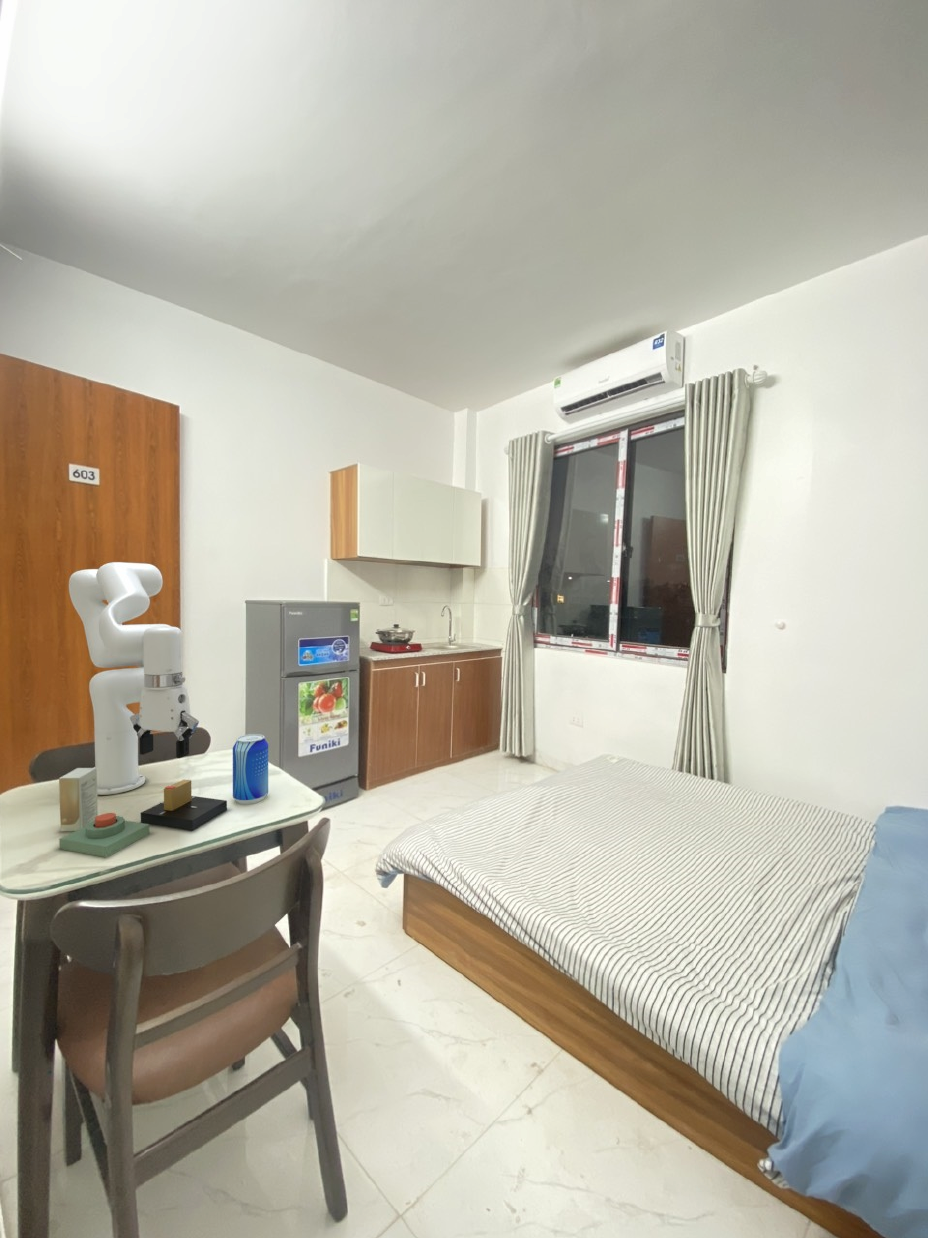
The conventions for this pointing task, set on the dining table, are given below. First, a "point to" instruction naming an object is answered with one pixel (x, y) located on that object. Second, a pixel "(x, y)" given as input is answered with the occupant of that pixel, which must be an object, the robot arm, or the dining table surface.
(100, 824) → the button
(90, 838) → the button block
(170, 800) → the tap handle
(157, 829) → the dining table surface
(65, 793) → the cosmetic box
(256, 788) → the beer can
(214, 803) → the base
